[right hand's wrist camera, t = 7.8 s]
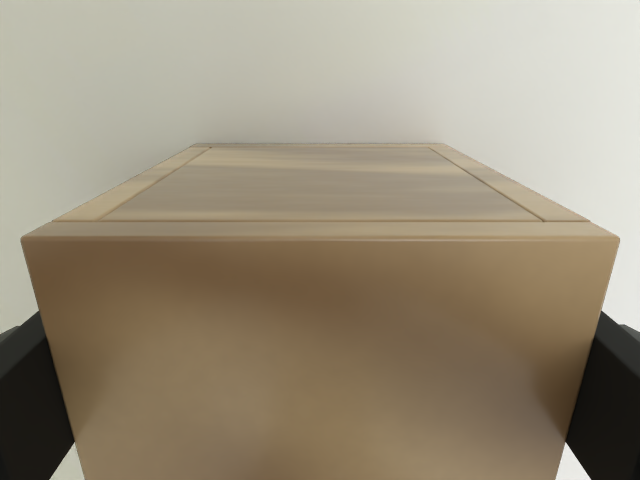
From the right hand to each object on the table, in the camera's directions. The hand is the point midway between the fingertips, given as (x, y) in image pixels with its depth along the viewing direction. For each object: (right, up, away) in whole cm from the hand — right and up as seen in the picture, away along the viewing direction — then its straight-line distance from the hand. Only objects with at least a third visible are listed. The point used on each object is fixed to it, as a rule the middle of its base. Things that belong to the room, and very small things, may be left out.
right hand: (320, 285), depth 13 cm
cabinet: (0, -2, +8) cm, 8 cm away
